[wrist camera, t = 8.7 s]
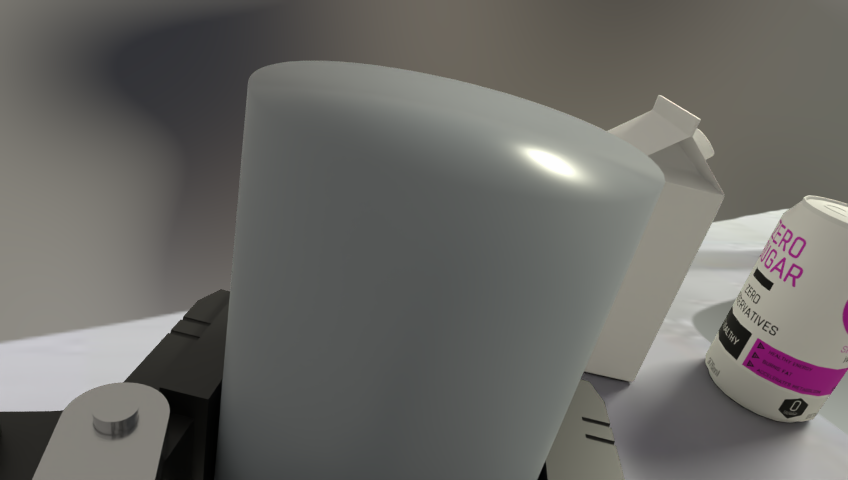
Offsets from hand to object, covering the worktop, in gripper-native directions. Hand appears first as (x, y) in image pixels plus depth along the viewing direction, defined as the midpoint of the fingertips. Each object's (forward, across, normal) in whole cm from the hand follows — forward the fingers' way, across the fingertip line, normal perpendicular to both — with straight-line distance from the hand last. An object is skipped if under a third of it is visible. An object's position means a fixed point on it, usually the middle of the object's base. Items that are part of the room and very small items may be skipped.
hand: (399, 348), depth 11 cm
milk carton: (+29, -13, +17) cm, 36 cm away
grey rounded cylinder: (-3, 0, +7) cm, 7 cm away
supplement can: (+29, -28, +17) cm, 43 cm away
